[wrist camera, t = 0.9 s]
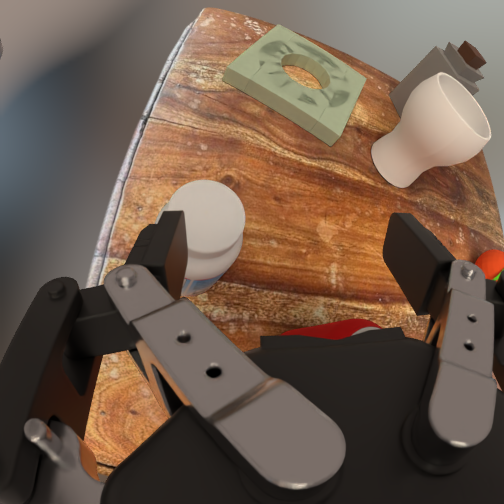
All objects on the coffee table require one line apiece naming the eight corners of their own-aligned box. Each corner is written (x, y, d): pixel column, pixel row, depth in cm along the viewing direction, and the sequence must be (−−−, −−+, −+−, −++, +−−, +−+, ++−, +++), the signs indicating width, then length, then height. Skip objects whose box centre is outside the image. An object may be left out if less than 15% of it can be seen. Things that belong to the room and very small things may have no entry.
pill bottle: (219, 234, 30) (257, 174, 20) (218, 299, 28) (259, 269, 18) (154, 228, 29) (160, 162, 18) (150, 295, 27) (150, 262, 16)
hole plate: (221, 80, 36) (226, 66, 34) (273, 35, 43) (278, 24, 40) (330, 147, 38) (340, 136, 36) (358, 88, 44) (366, 78, 42)
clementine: (471, 311, 39) (509, 301, 32) (456, 268, 40) (494, 254, 33) (491, 289, 42) (524, 278, 35) (477, 250, 43) (510, 237, 36)
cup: (426, 173, 43) (496, 124, 30) (404, 212, 39) (490, 160, 25) (379, 121, 43) (442, 61, 30) (349, 152, 39) (424, 80, 25)
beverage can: (303, 404, 28) (385, 425, 17) (249, 374, 27) (313, 387, 16) (331, 350, 30) (419, 343, 19) (282, 317, 30) (357, 296, 19)
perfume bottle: (413, 102, 49) (475, 44, 33) (428, 131, 47) (497, 75, 31) (388, 94, 47) (452, 28, 30) (403, 125, 45) (476, 60, 29)
